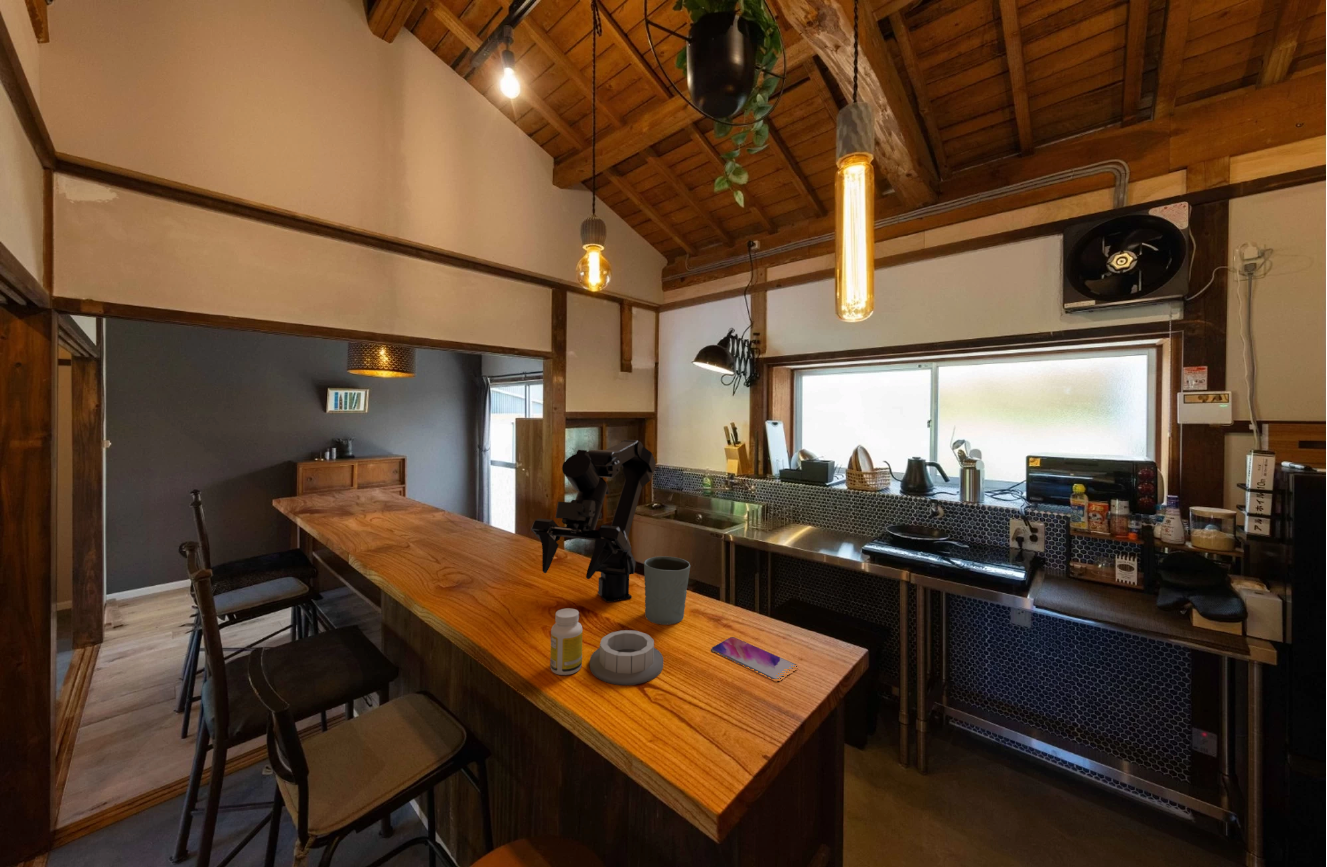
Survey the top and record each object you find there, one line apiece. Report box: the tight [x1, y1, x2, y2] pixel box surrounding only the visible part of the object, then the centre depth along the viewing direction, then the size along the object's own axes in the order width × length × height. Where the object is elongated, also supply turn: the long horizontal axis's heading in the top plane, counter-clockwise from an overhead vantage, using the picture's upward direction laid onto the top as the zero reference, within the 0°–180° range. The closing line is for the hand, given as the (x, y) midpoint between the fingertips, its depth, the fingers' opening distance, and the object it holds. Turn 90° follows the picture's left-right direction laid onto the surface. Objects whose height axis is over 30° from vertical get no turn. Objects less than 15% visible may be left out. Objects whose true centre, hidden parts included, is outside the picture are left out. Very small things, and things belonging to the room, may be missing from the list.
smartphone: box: [710, 636, 798, 679], centre depth 89 cm, size 7×1×15 cm
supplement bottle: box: [549, 607, 583, 676], centre depth 84 cm, size 5×5×10 cm
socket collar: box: [589, 629, 664, 686], centre depth 85 cm, size 13×13×4 cm
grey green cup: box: [643, 555, 691, 626], centre depth 106 cm, size 10×10×12 cm
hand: (565, 575), depth 92 cm, fingers open, 9 cm apart
